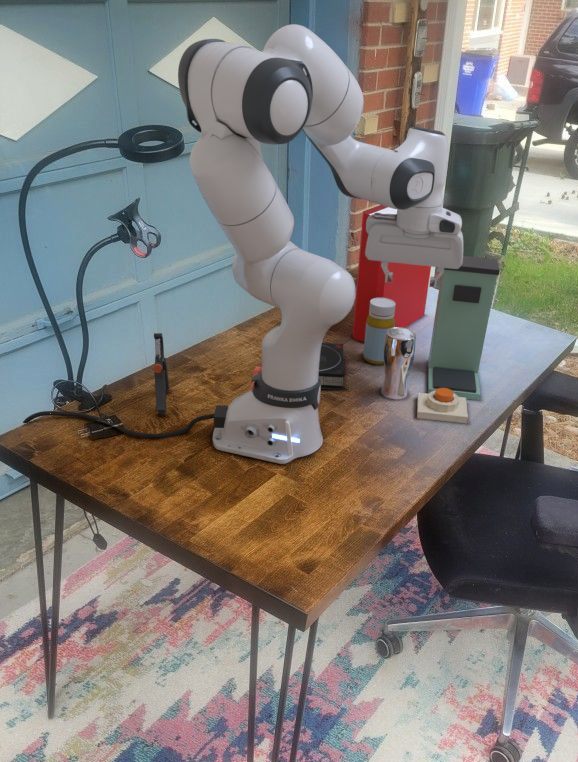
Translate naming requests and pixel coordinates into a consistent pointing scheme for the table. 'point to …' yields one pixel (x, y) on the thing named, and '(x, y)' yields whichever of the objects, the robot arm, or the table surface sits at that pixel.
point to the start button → (444, 395)
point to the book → (388, 285)
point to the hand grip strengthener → (160, 375)
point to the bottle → (378, 329)
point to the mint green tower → (461, 326)
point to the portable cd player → (331, 366)
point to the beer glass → (397, 361)
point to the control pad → (441, 408)
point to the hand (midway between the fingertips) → (410, 284)
